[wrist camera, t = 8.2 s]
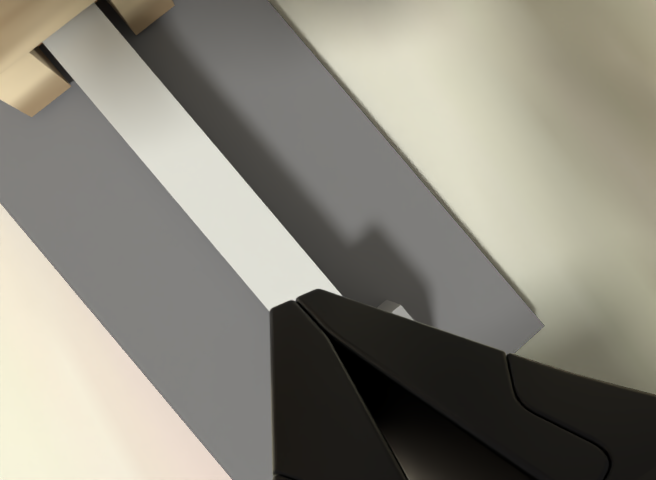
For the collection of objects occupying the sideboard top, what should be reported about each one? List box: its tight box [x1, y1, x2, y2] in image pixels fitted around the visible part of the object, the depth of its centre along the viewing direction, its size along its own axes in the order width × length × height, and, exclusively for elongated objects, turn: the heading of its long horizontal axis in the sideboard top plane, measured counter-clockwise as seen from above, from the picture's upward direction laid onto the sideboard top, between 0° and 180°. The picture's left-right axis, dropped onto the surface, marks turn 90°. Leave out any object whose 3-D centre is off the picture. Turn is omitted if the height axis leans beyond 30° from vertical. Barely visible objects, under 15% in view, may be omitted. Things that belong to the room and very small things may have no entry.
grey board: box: [0, 0, 544, 480], centre depth 18 cm, size 30×12×4 cm, turn 40°
